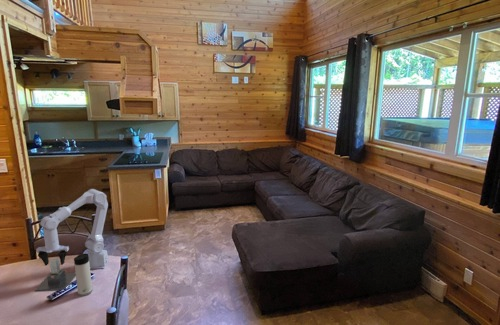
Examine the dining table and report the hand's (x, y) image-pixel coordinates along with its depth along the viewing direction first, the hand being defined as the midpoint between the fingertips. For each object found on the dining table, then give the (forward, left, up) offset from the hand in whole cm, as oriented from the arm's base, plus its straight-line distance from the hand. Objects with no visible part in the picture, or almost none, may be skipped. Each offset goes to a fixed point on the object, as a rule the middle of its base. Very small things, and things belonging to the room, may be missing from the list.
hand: (54, 264), depth 155 cm
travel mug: (-18, +10, -11) cm, 23 cm away
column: (0, 0, -8) cm, 8 cm away
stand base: (0, 0, -10) cm, 10 cm away
